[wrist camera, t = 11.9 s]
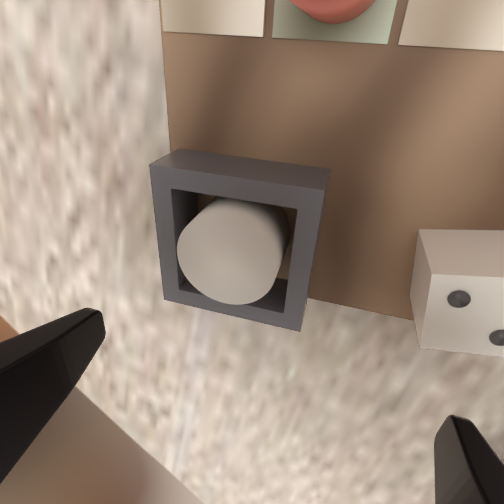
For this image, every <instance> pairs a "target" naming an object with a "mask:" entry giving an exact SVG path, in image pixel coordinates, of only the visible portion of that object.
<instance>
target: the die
mask: <svg viewBox="0 0 504 504" xmlns="http://www.w3.org/2000/svg"><path fill="white" fill-rule="evenodd" d="M410 299H411V304H412V310H413V315H414V321H415V326H416V332H417V337H418V343H419V348H423V349H432V350H441V351H451V352H460V353H469V354H478V355H487V356H497V357H504V230H444V229H419V230H418V237H417V245H416V252H415V259H414V267H413V274H412V282H411V289H410Z"/></svg>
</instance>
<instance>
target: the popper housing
mask: <svg viewBox="0 0 504 504" xmlns="http://www.w3.org/2000/svg"><path fill="white" fill-rule="evenodd" d="M149 167H150V176H151V185H152V194H153V203H154V212H155V221H156V230H157V240H158V249H159V258H160V267H161V276H162V285H163V294H164V300H168V301H172V302H176V303H180V304H185V305H189V306H193V307H197V308H202V309H206V310H210V311H214V312H218V313H223V314H227V315H231V316H235V317H240V318H244V319H248V320H252V321H256V322H261V323H265V324H269V325H273V326H278V327H282V328H286V329H290V330H294V331H299V332H300V330H301V326H302V321H303V317H304V313H305V308H306V304H307V299H308V294H309V288H310V283H311V277H312V272H313V266H314V260H315V255H316V249H317V243H318V238H319V232H320V227H321V221H322V215H323V210H324V204H325V198H326V193H327V187H328V182H329V176H330V170H331V169H328V168H321V167H313V166H306V165H298V164H291V163H284V162H276V161H269V160H261V159H254V158H246V157H239V156H231V155H224V154H217V153H209V152H202V151H194V150H187V149H177V150H175V151H173V152H171V153H169V154H168V155H166V156H164V157H162V158H160V159H158V160H157V161H155V162H153V163H151V164H149ZM198 193H202V194H209V195H215V196H221V197H227V198H233V199H239V200H246V201H252V202H258V203H264V204H270V205H277V206H283V207H289V208H295V209H298V210H297V218H296V225H295V233H294V240H293V248H292V255H291V263H290V270H289V278H288V280H286V279H281V278H275V281H274V284H273V286H272V287H271V289H270V290H269V291H268V293H267V294H266V295H264V296H263V297H262V298H260V299H259V300H257V301H254V302H252V303H248V304H241V305H234V304H226V303H222V302H219V301H216V300H213V299H211V298H209V297H207V296H206V295H204V294H203V293H201V292H200V291H199V290H197V289H196V288H195V287H194V286H193V285H192V284H191V283H190V282H189V280H188V279H187V278H186V276H185V275H184V273H183V271H182V269H181V267H180V265H179V261H178V256H177V244H178V240H179V237H180V235H181V233H182V231H183V230H184V228H185V227H186V226H187V225H188V224H189V223H190V222H191V221H192V220H193V219H194V218H195V217H196V216H197V215H198Z"/></svg>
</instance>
